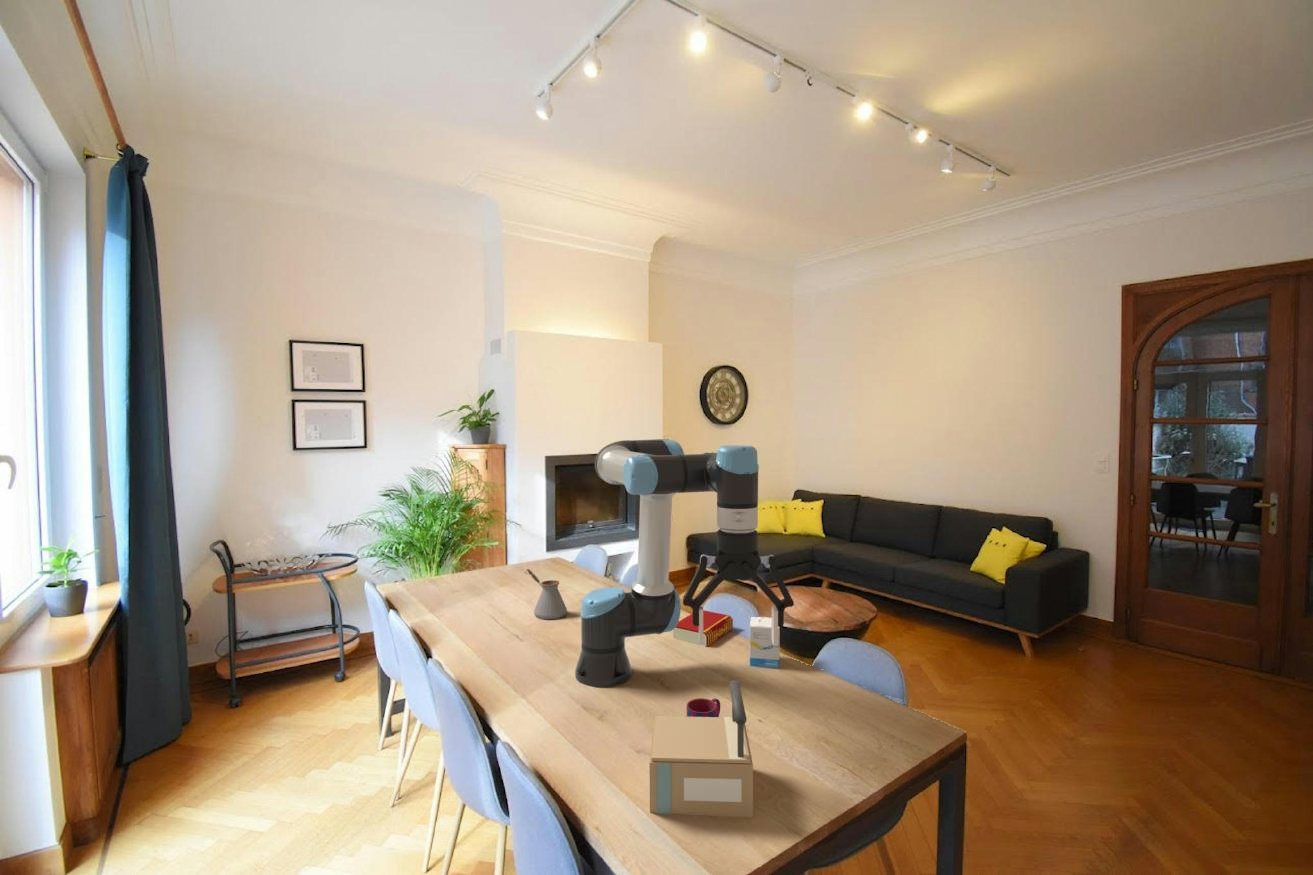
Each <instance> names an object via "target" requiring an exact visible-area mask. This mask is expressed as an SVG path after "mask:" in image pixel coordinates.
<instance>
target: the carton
mask: <svg viewBox="0 0 1313 875" xmlns="http://www.w3.org/2000/svg"><path fill="white" fill-rule="evenodd" d="M652 727H653V728H652V735H651V746H650V754H649V755H650V756H649V813H654V814H659V815H672V814H673V815H674V814H675V815H689V816H690V815H693V816H710V817H712V816H713V817H728V818H750V819H752V818H754V763H753V759H752V753H751V749H750V748H751V747H750V743H749V737H748V732H747V726H746V723H745V724H744V731H745V737H746V742H747V747H748V753H749V758H750V764H749V763H708V762H667V761H651V756H652V746H653V737H654V727H655V718H653V726H652Z"/></svg>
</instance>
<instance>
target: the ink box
mask: <svg viewBox="0 0 1313 875" xmlns="http://www.w3.org/2000/svg"><path fill="white" fill-rule="evenodd" d="M780 628H781V627H778V646H774V645H773V643H772V617H766V616H758V617H756V616H751V617H750V622H749V666H750V667H755V668H765V669H766V668H769V669H780V657H781V656H780V648H781V647H780V646H781V645H780V642H781V641H780V640H781V639H780V637H781V636H780V630H781V629H780Z"/></svg>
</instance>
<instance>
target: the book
mask: <svg viewBox="0 0 1313 875" xmlns="http://www.w3.org/2000/svg"><path fill="white" fill-rule="evenodd" d="M733 628H734V618H733V617H732V616H731V615H729V614H725V613H719V612H713V611H708V610H704V609H703V646H702V647H706V648H707V647H710V645H712V644H713V643H715V642H716V641H717V640H718V639H720V638H721V637H723V636H724V635H726V634H728V633H729V632H731V630H733ZM672 631H673V632H672V638H674V640H678V641H682V642H686V643H690V644H694V645H697V646H700V645H699V626H694V625H693V612H692V613H691V614H689V615H687V616H686V617H684V618H682V619H681V620H680V619H679V622H678V624H677V626H676V627H675V628H674V629H673V630H672Z"/></svg>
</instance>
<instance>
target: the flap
mask: <svg viewBox="0 0 1313 875" xmlns="http://www.w3.org/2000/svg"><path fill="white" fill-rule="evenodd" d="M729 690H730V692H729V693H730V697H731V716H724V717H723V716H721V717H720V716H719V717H687V716H677V715H675V716H670V715H655V718H654V719H655V727H654V737H653V746H652V756H651V761H667V762H708V763H749V764H750V758H749V753H748V747H747V742H746V737H745V731H744V724H745V725H746V722H747V715H746V711H745V710H746V709H745V704H744V699H743V695H742V689H741V686H740V682H739V681H738V680H732V681H730V683H729Z"/></svg>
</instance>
